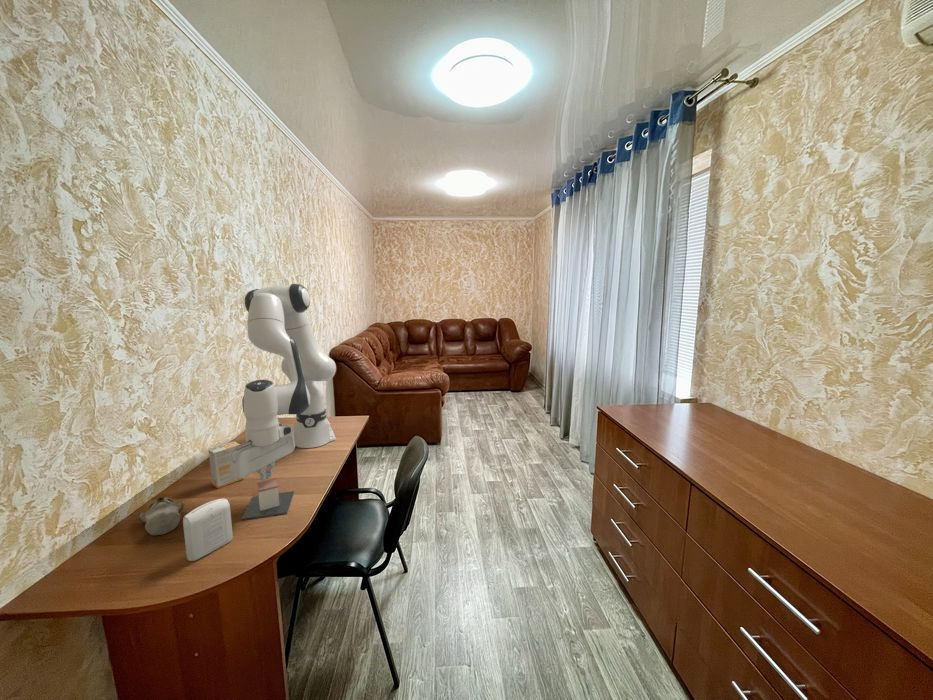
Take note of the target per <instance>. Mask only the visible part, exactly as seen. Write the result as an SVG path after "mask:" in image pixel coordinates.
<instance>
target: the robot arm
mask: <svg viewBox="0 0 933 700" xmlns="http://www.w3.org/2000/svg"><path fill="white" fill-rule="evenodd" d="M310 299H311V298H310V294H309V292H308V290H307V288H306V287H305V286H304V285H303V284H300V283H299V284H298V283H291V284H279V285H278V284H277V285H276V284H275V285H273V286H267V287H263V288H255V289H252V290H249V291H248V292H247V294H245V297H244V306H245V309H246V311H247V312H248V314H247V323H246V324H247V337H248V340H249V341H250V343H251V344H252V345H254V346H255V347H256V348H257V349H259V350H262V351H264V352H267V353H271V354H274V355H278V356H280V357H282V361H281V363H280V364H281V365H280V367H281V371H282V372H283V374H284V375H285V376H286V377H287V378H288V380H289V381H290V383H287V384H275V383H274V381H271V380H269V379H256V380H253V381H250V382H248V383H247V384H245V386H244V389H243V390H244V391H243V396H242V400H241V402H242V413H243V415H244V417H245V425H244V430H245V442H243V443H240V445H238V446H236V447H235V449H234V450H233V451H232V452H231V463H230V474H231V476H233V477H235V478H239V479H242V478H245V477H247V476H249V475H251V474H253V473H254V474H255V473H256V472H257V474H258V475H259V480H261V481H267V479H269V478H271V477H272V476H273V470H274V467H275V465H276V461H278V460H281V459H283V458H285V457H286V456H289V455H290V454H293V452H294V450H295V448H296V447H297V448H302V449H312V448H317V447H321V446H324V445H326V444H328V443H330V442H334V441H335V440H336V439H337V437H336V435H335V433H334V431H333V428H332V427H331V423H330V422H329V420H328V418H327V409H326V407H325V393H324V390H323V389H322V388H321V387H320V385H319V384H318V383H317V382H326V381H327V382H328V381H330V380H332V379H333V378H334V376H335V375H336V373H337V365H336V362H335V360H334V359H332V358H331V357H330V356H328V355H327V354H326V352H325V351H324V350H323V349H322V347H321V346H320V344H319V343H318V342H317V340H316V337H315V333H314V331H313V328H312V326H311V325H312V324H311V322H310V318H309V316H308V313H307V310H308V308H309V307H310V304H311V301H310ZM280 415H283V416H284V415H295V417H296V422H294V424H293V425H288V424H282V423H280V421H279V419H278V416H280ZM242 480H243V479H242Z"/></svg>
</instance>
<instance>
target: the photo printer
mask: <svg viewBox="0 0 933 700" xmlns="http://www.w3.org/2000/svg"><path fill="white" fill-rule="evenodd" d="M182 524H183V525H182V527H183V533H184V544H185V553H186V554H185V555H186V560H188V561H190V562H195V561H197V560H199V559H201V558H203V557H205V556H206V555H208V554H210V553H213V552H214V551H215V550H218V549H219V548H221V547H223V546H225V545H226V544H228V543H230V542H231V541H232V540H233V538H234V537H233V527H232V514H231V505H230V502H229V501H228V499H226V498H219V499H215V500H214V499H213V500H210V501H208V502H206V503H204V504H201V505H199V506H197V507H195V508H194V509H193V510H191V511H190V512H188V513H187V514H186V515H184V516H183V518H182Z"/></svg>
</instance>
